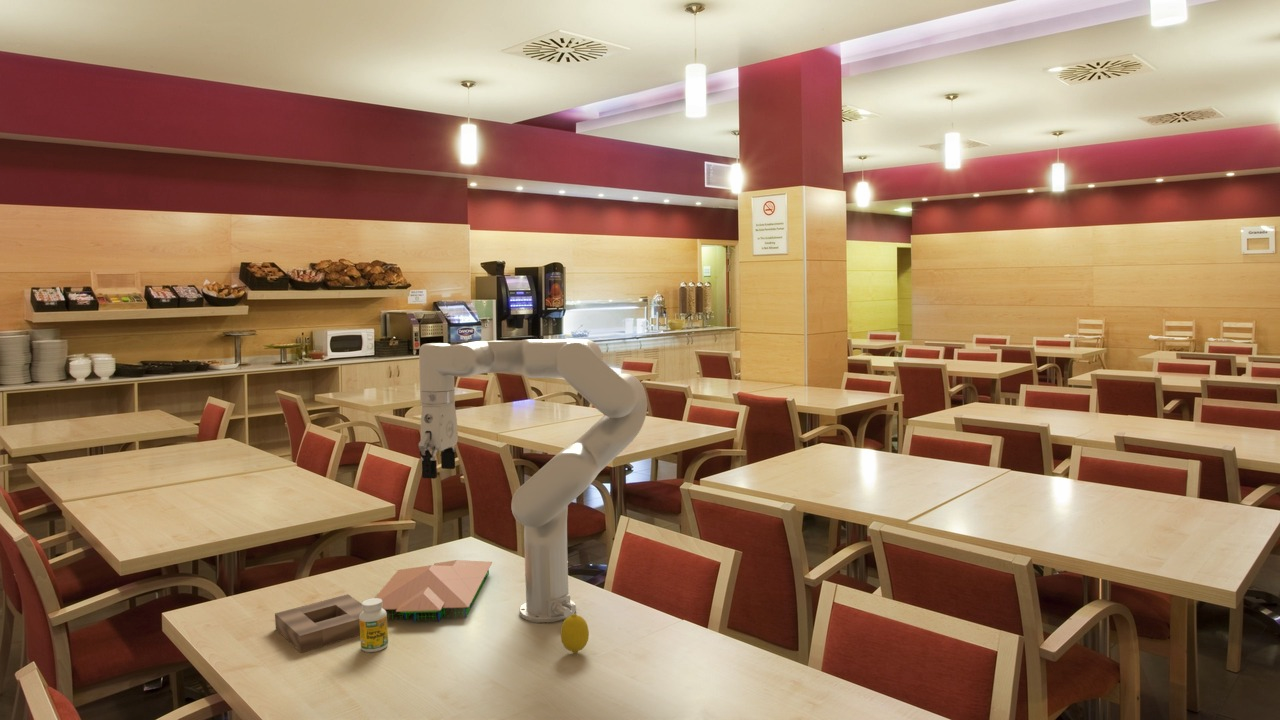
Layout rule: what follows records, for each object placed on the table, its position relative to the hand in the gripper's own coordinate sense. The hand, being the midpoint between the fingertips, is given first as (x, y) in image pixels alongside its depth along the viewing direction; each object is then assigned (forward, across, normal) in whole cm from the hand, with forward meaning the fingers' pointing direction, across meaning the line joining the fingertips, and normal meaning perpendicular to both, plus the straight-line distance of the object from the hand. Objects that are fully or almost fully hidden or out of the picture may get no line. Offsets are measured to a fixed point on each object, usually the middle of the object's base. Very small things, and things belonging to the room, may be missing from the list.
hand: (439, 473), depth 180 cm
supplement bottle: (+32, -21, +5) cm, 39 cm away
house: (+32, +6, +5) cm, 33 cm away
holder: (+32, -14, +20) cm, 40 cm away
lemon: (+31, -18, -36) cm, 51 cm away
